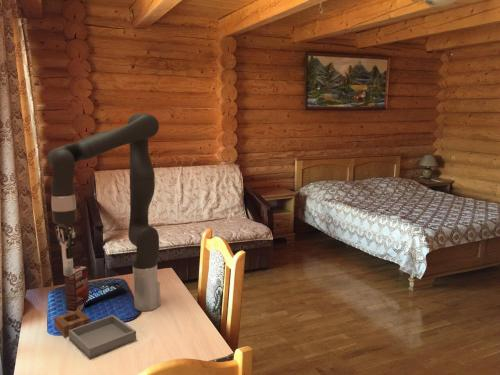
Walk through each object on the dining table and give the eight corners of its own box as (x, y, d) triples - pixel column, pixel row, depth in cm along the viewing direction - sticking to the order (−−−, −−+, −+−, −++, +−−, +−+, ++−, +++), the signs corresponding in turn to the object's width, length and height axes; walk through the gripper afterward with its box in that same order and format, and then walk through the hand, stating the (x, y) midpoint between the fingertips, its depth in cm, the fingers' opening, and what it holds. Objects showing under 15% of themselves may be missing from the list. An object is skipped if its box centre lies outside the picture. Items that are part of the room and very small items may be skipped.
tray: (113, 323, 154) (113, 314, 153) (136, 340, 142) (135, 331, 142) (69, 339, 142) (68, 330, 142) (90, 359, 131) (89, 349, 131)
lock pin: (72, 270, 149) (69, 234, 147) (77, 273, 146) (74, 237, 144) (60, 273, 146) (57, 237, 144) (65, 277, 144) (62, 239, 141)
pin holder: (79, 319, 156) (79, 309, 156) (90, 328, 150) (89, 317, 149) (54, 328, 150) (53, 317, 149) (64, 337, 144) (63, 326, 143)
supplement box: (77, 313, 161) (74, 274, 158) (65, 312, 162) (63, 273, 159) (90, 304, 169) (87, 266, 166) (79, 302, 170) (76, 265, 167)
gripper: (84, 209, 140) (87, 259, 143) (66, 203, 150) (70, 249, 153) (60, 213, 135) (64, 264, 138) (44, 206, 145) (48, 254, 148)
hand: (67, 256), depth 145 cm, fingers closed on lock pin, 3 cm apart
